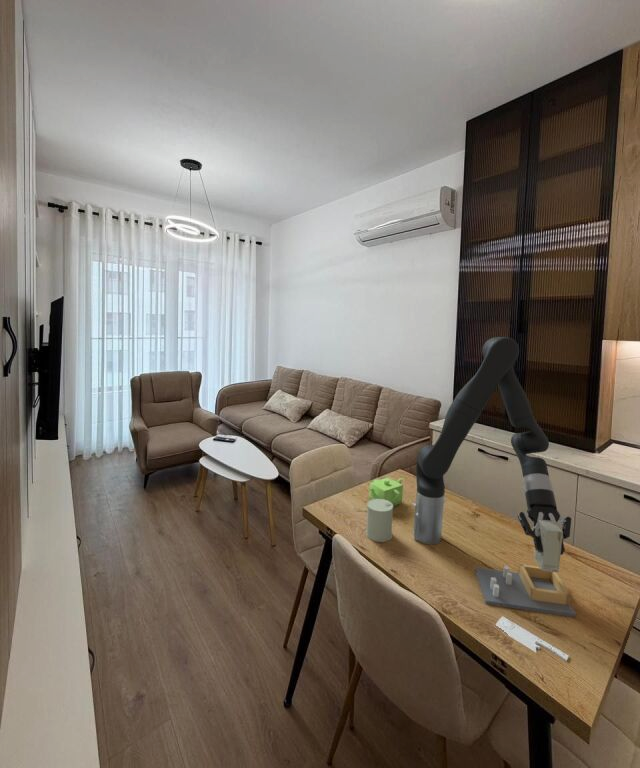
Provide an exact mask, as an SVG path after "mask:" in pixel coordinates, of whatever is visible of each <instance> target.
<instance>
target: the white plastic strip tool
mask: <svg viewBox="0 0 640 768" xmlns="http://www.w3.org/2000/svg"><path fill="white" fill-rule="evenodd" d="M495 625H496V626H498V627H499V628H501V629H502V630H504V632H506V633H507V634H508V635H507V634H506V635H507V636H509V637H510V638H512V639H513V640H515V641H517V642H518V643H519V644H521V645H522V646H523V645H524V647H526V648H528V649H530V650H531V651H532V652H534V653H536V654H537V650H540V649H541V647H543V648H544V649H546V650H548V651H550V652H551V653H553V654H554V655H556V656H558V657H559V658H560V659H561V660H563V661H564V662H568V660H569V658H570V656H569V655H568V654H567V653H565V652H563V650H560V649H558V648H557V647H555V646H553V645H551V644H550V643H548V642H547V641H545V640H543V639H542V638H540V637H538V636H537V635H535V634H534V633H531V632H530V631H529V630H526V629H525V628H523V627H521V626H520V625H518V624H517V623H515V622H513V621H511V620H510V619H508V618H506V617H505V616H501V617H500V618H499V619H498V621H497V622H496V623H495ZM504 632H503V633H504Z"/></svg>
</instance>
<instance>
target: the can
mask: <svg viewBox="0 0 640 768" xmlns="http://www.w3.org/2000/svg"><path fill="white" fill-rule="evenodd" d="M366 505H367V507H366V530H365V534H366V537H367V538H368V539H370V540H371V541H373V542H377V543H383V542H384V543H385V542H389V541H390V540H391V539H392V537H393V533H392V530H393V511H394V506H393V504H392V503H391V502H389V501H387V500H384V499H372V500H370V501H369V500H368V501H367V503H366Z"/></svg>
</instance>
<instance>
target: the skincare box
mask: <svg viewBox="0 0 640 768" xmlns="http://www.w3.org/2000/svg"><path fill="white" fill-rule="evenodd" d="M557 524H558V523H557ZM557 524H556V523H555V522H553V521H549V520H539V526H540V536H539V537H541V541H542V547H543V552H542V553H539V552H538V550H536V549H535V548H534V557H533V558H534V560H535V562H536V564H537V565H538V566H539V567H540V568H541V570H542V571H548V572H556V573H557V574H558V573H559V572H560V561H561V555H560V554H561V545H562V536H563V531H562V529H561V527H560V526H559V525H557Z"/></svg>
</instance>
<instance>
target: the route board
mask: <svg viewBox="0 0 640 768" xmlns="http://www.w3.org/2000/svg"><path fill="white" fill-rule="evenodd" d="M474 571H475V573H476V577H477V580H478V583H479V587H480V591H481V593H482V596H483V600H484V603H485V604H486V605H492V606H498V607H504V608H505V607H506V608H511V609H519V610H524V611H531V612H537V613H538V612H539V613H543V614H544V613H545V614H551V615H558V616H565V617H572V618H576V617H577V613H576V612H575V610H574V608H573V606H572V605H571V599H572V594H571V592H570V591H569V590H568V588H567V587H566V585H565V584H564V582H563V580H562V579H561V577H560V576H559V574H558V573H556V572H548V571H542V570H541V568H540V567H539V565H538V566H537V565H532V564H530V565H529V564H522V563H519V564H518V572H515V571H510V567H509V566H508V565H506V566H505V565H504V566H503V569H502V570H501V569H500V570H499V569H490V568H483V567H477V566H475V567H474Z"/></svg>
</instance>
